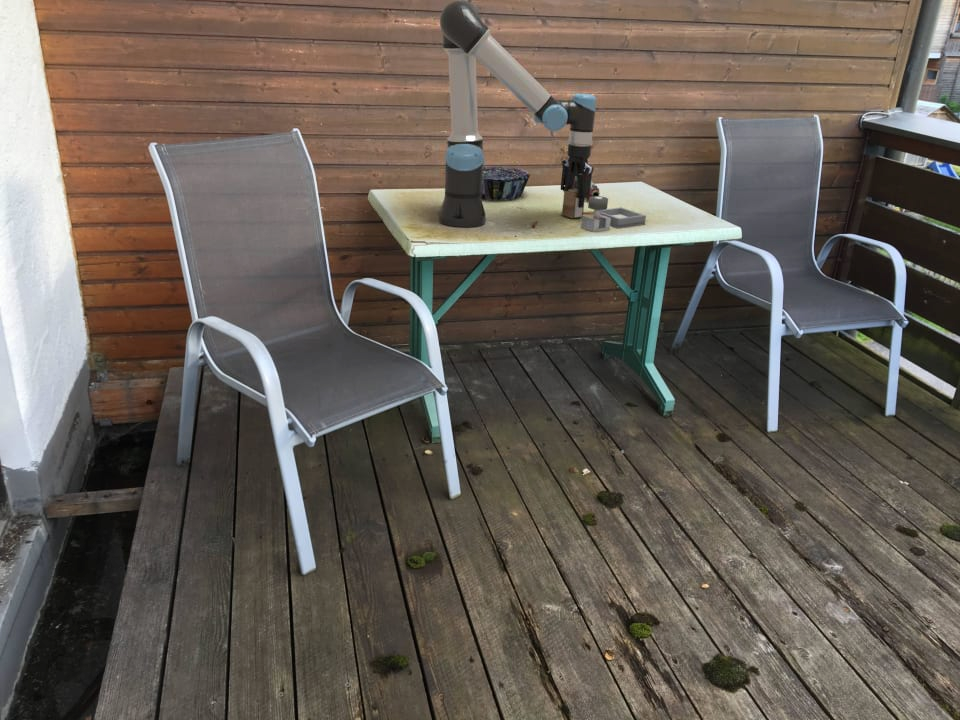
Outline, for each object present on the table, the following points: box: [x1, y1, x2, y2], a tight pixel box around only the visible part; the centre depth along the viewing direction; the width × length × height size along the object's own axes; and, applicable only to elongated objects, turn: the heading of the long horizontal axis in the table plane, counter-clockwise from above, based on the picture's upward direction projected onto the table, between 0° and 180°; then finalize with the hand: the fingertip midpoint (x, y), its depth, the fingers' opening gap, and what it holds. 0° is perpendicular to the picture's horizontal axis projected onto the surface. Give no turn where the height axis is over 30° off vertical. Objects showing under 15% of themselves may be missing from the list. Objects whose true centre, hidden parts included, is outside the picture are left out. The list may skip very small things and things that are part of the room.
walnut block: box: [561, 189, 586, 219], centre depth 259 cm, size 5×5×9 cm
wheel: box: [587, 195, 609, 218], centre depth 245 cm, size 6×6×6 cm
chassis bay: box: [600, 206, 647, 229], centre depth 256 cm, size 12×12×3 cm
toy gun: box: [572, 177, 600, 202], centre depth 287 cm, size 4×20×10 cm, turn 16°
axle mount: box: [580, 214, 611, 233], centre depth 247 cm, size 7×6×4 cm
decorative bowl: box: [481, 165, 531, 202], centre depth 284 cm, size 26×28×10 cm
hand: (572, 214), depth 261 cm, fingers closed on walnut block, 5 cm apart
